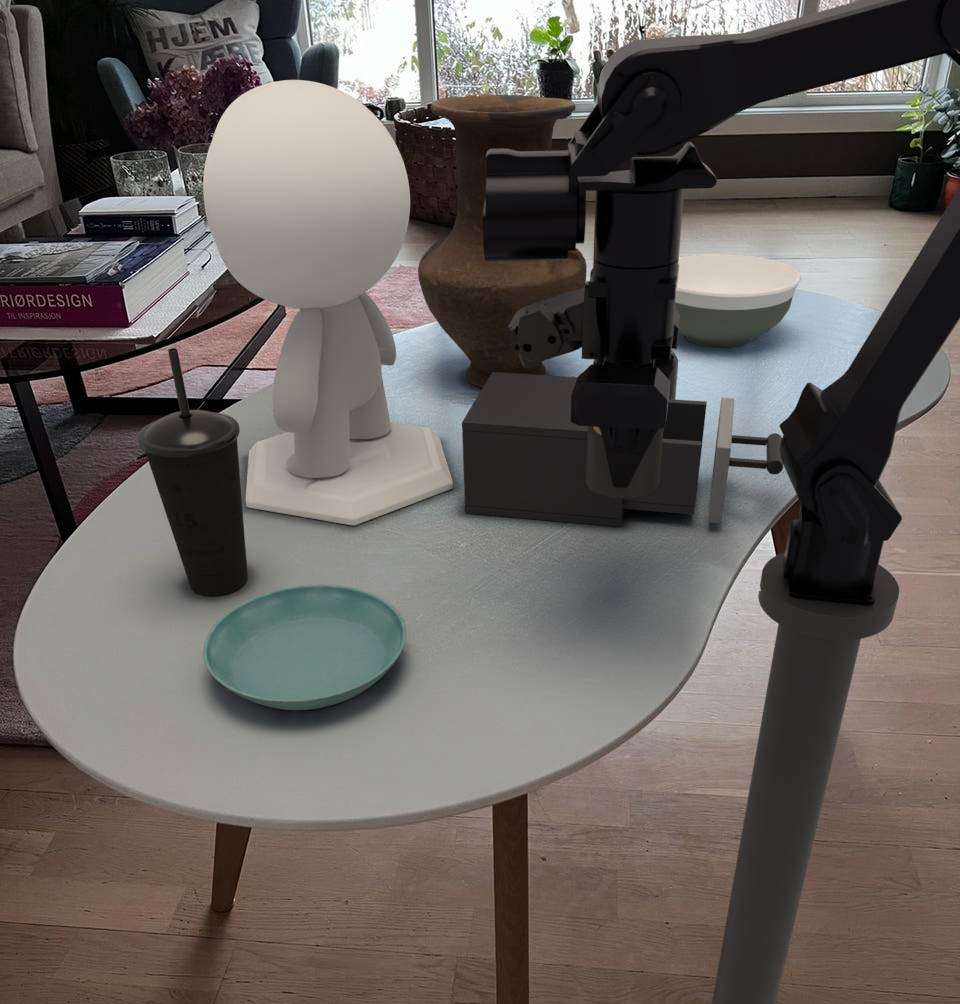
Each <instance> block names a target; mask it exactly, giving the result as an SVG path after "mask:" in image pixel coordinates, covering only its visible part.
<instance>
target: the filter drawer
mask: <svg viewBox="0 0 960 1004" xmlns="http://www.w3.org/2000/svg"><path fill="white" fill-rule="evenodd" d="M707 404H708V402H707V401H706V400H705V401H704V400H691V399H689V400H688V399H677V398H676V399H669V402H668V412H667V419H666V426H665V427H664V432H663V444H662V457H661V469H660V482H659V486H658V488H657V489H656V490H655V491H653V492H652V493H650V494H647V495H644V496H641V497H635V498H623V509H625V510H634V511H645V512H656V513H657V512H659V513H670V514H681V515H695V510H696V509H695V508H696V500H697V492H698V483H699V475H700V467H701V459H702V458H701V457H702V449H703V440H704V431H705V424H706V423H705V421H706V414H707V413H706V412H707ZM719 407H720V408H719V415H718V424H717V431H716V432H717V433H716V441H715V447H714V448H715V449H714V458H713V466H712V474H711V485H710V486H711V487H710V496H709V507H708V517H707V523H710V524H722V523H723V514H724V506H725V501H726V500H725V499H726V493H727V492H726V491H727V483H728V476H729V468H730V467H733V468H734V467H735V468H747V469H748V468H749V469H760V470H761V469H762V470H766V471H767V472H768V473H769V474H770V475H773V476H774V475H775V476H776V475H779V474H781V473H782V471H783V469H784V465H783V462H782V459H781V456H780V442H781V440H782V438H783V436H782V435H781V434H779V433H776V432H775V433H770V434H769V435H768V436H767V437H766V436H765V437H763V436H749V435H735V434H733V428H734V427H733V426H734V412H735V398H734V397H733V398H732V397H721V399H720V406H719ZM732 444H736V445H750V446H764V447H766V459H754V458H753V459H752V458H742V457H741V458H740V457H739V458H738V457H731V451H732Z"/></svg>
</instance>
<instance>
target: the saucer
mask: <svg viewBox="0 0 960 1004" xmlns="http://www.w3.org/2000/svg"><path fill="white" fill-rule="evenodd" d="M406 640H407V628H406V624H405V620H404V619H403V617H402V616H401V613H399V611H398V610H397V609H396V608H395V607H394V606H393V605H392V604H391V603H390V602H388V601H387V600H386V599H385V598H382V597H380V596H378V595H376V594H374V593H371V592H369V591H366V590H363V589H359V588H356V587H351V586H343V585H339V584H306V585H297V586H296V585H295V586H290V587H285V588H281V589H276V590H273V591H272V590H271V591H270V592H267V593H263V594H261V595H258V596H255V597H252V598H251V599H248V600H246V601H244V602H243V603H241V604H240V603H239V604H238V605H237V606H235V607H233V608H232V609H230V610H229V611H228V612H227V613H225V614H224V615H223V616H222V617H220V619H219V620H217V622H216V623H215V624H214V625H213V626H212V627H211V629H210V630H209V632H208V634H207V635H206V638H205V640H204V643H203V649H202V654H203V655H202V656H203V661H204V663H205V666H206V669H207V671H208V672H209V673H210V675H211V676H212V678H214V680H215V681H217V682H218V683H219V684H220V685H222V686H223V687H225V688H226V689H227V690H228V691H230V692H232V693H234V694H235V695H237V696H238V697H241V698H243V699H245V700H247V701H249V702H252V703H255V704H258V705H262V706H265V707H269V708H273V709H278V710H285V711H308V710H309V711H310V710H317V709H323V708H327V707H332V706H334V705H336V704H337V705H338V704H340V703H343V702H346V701H348V700H350V699H352V698H354V697H356V696H358V695H359V694H361V693H363V692H364V691H366V690H367V689H369V688H370V687H372V686H373V685H375V684H376V683H377V682H379V680H380V679H381V678H382V677H384V675H386V673H387V672H389V670H390V669H391V668H392V667H393V666H394V664H395V663H396V662H397V660H398V659H399V657H400V655H401V654H402V652H403V649H404V647H405V644H406Z"/></svg>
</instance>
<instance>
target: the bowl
mask: <svg viewBox="0 0 960 1004" xmlns="http://www.w3.org/2000/svg"><path fill="white" fill-rule="evenodd" d="M678 265H679V273H678V282H677V288H676V299H675V309H676V311H677V312H678V313H679V314H680V323H679V334H682V335H683V336H685V337H686V339H687V340H688V341H689V342H691V343H694V344H695V345H699V346H704V347H710V348H734V347H741V346H744V345H746V344H748V343H749V342H751V341H752V340H753V339H756V338H757V337H759V336H761V335H763V334H766V333H767V332H769V331H770V330H772V329H773V328H774V327H776V326H777V325H778V324H780V322H782V320H783V319H784V318H785V316H787V313H788V312H789V311H790V308H791V305H792V301H793V298H794V294H795V292H796V289H797V288H798V286H799V285H800V283H801V282H802V276H801V273H800V272H799V271H798V270H797V268H795V267H793V266H791V265H789V264H787V263H784V262H782V261H778V260H776V259H775V260H774V259H771V258H766V257H760V256H755V255H746V254H735V253H734V254H733V253H704V254H691V255H684V256H679V262H678Z"/></svg>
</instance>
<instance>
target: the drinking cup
mask: <svg viewBox="0 0 960 1004" xmlns="http://www.w3.org/2000/svg"><path fill="white" fill-rule="evenodd" d="M167 352H168V357H169V358H168V359H169V362H170V367H171V373H172V377H173V382H174V387H175V388H174V389H175V393H176V397H177V402H178V408H179V411H175V412H171V413H168V414H167V415H164V416H162V417H160V418H158V419H155V420H154V421H152V422H150V423H149V424H146V425H145V426H144V427H143V428H142V429H140V431H139V433H138V436H137V441H138V445H139V447H140V449H142V450H143V451H144V452H145V455H146V459H147V461H148V464H149V467H150V470H151V473H152V476H153V479H154V482H155V485H156V488H157V492H158V494H159V497H160V500H161V503H162V506H163V509H164V512H165V514H166V517H167V518H166V519H167V521H168V524H169V527H170V530H171V533H172V536H173V539H174V542H175V545H176V548H177V551H178V554H179V557H180V560H181V563H182V566H183V568H184V572H185V575H186V578H187V581H188V585H189V587H190V589H191V590H192V591H193V592H194V593H196V594H198V595H201V596H206V597H218V596H224V595H228V594H230V593H234V592H236V591H238V590H239V589H241V588H243V587H244V586H245V585H246V583H247V582H248V578H249V574H248V563H247V550H246V538H245V524H244V510H243V498H242V497H243V496H242V486H241V485H242V484H241V483H242V482H241V473H240V471H241V470H240V459H239V447H238V446H239V445H238V438H239V436H240V430H241V429H240V425H239V423H238V421H237V420H236V419H235V418H234V417H233V416H231V415H228V414H225V413H221V412H214V411H210V410H205V409H190V407H189V402H188V396H187V391H186V386H185V381H184V375H183V371H182V366H181V362H180V361H181V360H180V356H179V350H178V348H177V347H172V348H168V350H167Z"/></svg>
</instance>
